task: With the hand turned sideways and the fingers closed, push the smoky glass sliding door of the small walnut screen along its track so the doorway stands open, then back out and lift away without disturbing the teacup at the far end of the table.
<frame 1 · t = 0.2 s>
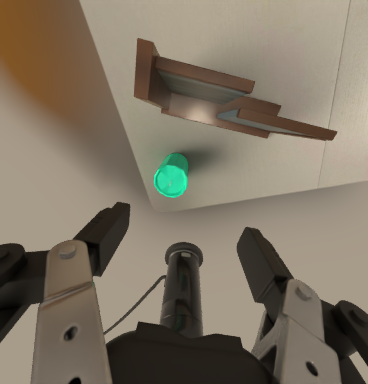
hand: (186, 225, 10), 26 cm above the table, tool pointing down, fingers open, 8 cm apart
candle: (175, 165, 36), on the table
glass door: (260, 123, 23), point 9 cm above the table, slide at 0.0 cm
screen frame: (218, 109, 30), on the table
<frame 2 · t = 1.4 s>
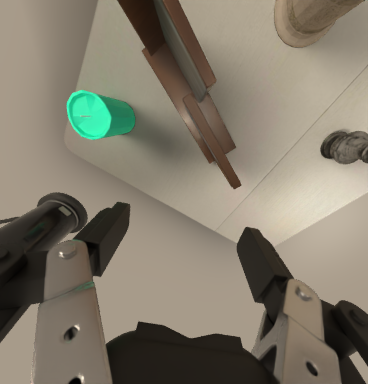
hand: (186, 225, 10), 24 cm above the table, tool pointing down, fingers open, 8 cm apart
candle: (120, 117, 30), on the table
glass door: (207, 139, 23), point 9 cm above the table, slide at 0.0 cm
screen frame: (193, 105, 29), on the table
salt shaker: (334, 145, 31), on the table
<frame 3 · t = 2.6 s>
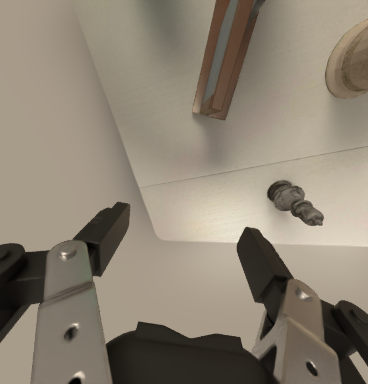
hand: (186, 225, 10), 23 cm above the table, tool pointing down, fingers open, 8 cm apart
glass door: (220, 58, 17), point 9 cm above the table, slide at 0.0 cm
screen frame: (228, 37, 23), on the table
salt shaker: (279, 191, 34), on the table
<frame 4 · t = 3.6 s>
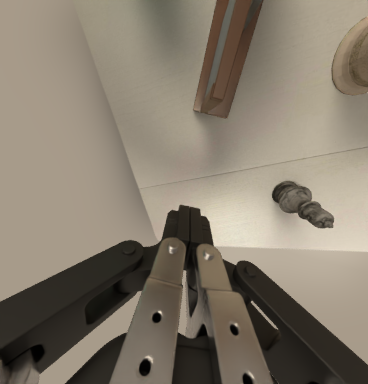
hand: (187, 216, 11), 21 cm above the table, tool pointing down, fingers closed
glass door: (222, 50, 16), point 9 cm above the table, slide at 0.0 cm
screen frame: (230, 33, 23), on the table
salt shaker: (284, 192, 33), on the table
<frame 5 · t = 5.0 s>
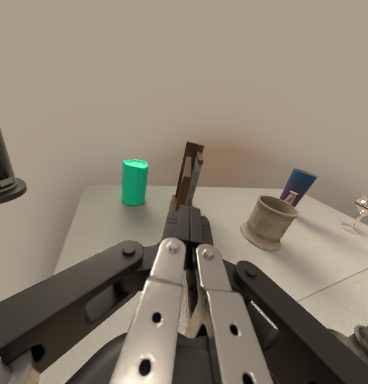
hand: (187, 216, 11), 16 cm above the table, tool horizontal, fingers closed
wineglass: (349, 229, 54), on the table
cup: (282, 210, 56), on the table
mug: (263, 233, 40), on the table
candle: (133, 200, 41), on the table
glass door: (179, 202, 28), point 9 cm above the table, slide at 0.0 cm
screen frame: (178, 223, 36), on the table
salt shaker: (329, 374, 18), on the table
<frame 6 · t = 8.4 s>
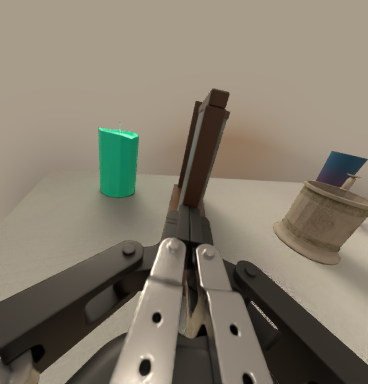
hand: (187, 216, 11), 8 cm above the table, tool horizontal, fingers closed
cup: (314, 206, 44), on the table
mug: (306, 237, 28), on the table
candle: (118, 190, 29), on the table
glass door: (190, 178, 16), point 9 cm above the table, slide at 1.0 cm, touching gripper
screen frame: (184, 222, 24), on the table
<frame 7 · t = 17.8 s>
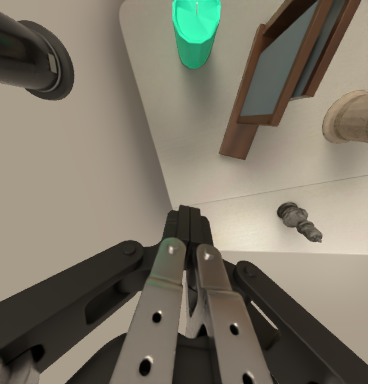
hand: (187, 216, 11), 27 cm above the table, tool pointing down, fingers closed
mug: (360, 113, 31), on the table
candle: (194, 49, 28), on the table
glass door: (267, 83, 22), point 9 cm above the table, slide at 7.0 cm
screen frame: (249, 103, 31), on the table
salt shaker: (286, 210, 42), on the table
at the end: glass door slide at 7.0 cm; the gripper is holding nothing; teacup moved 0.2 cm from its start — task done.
